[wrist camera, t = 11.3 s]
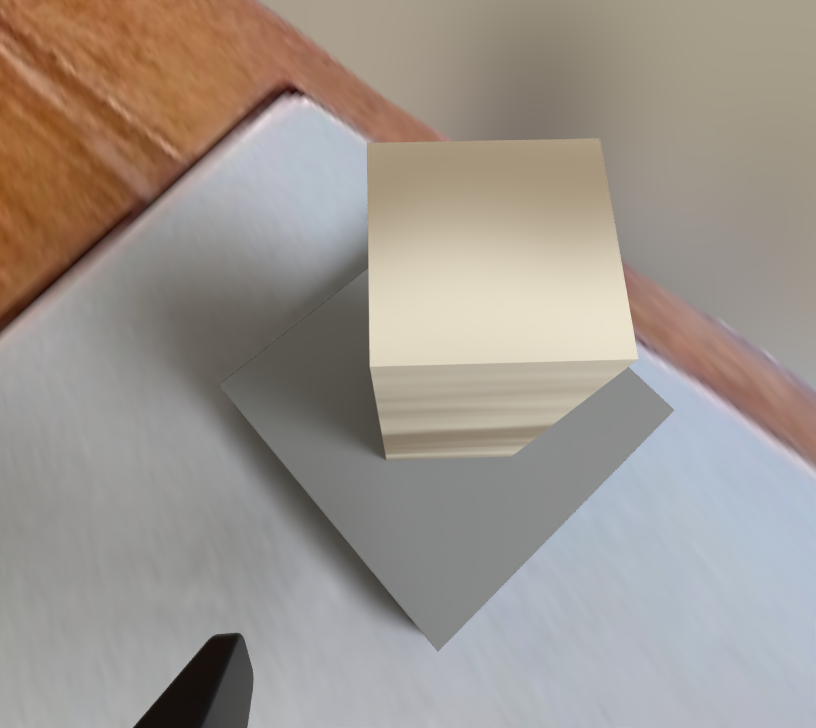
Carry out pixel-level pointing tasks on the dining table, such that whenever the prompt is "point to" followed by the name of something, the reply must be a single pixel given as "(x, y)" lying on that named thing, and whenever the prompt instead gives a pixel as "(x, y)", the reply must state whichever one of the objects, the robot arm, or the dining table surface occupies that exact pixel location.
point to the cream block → (490, 291)
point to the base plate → (426, 467)
